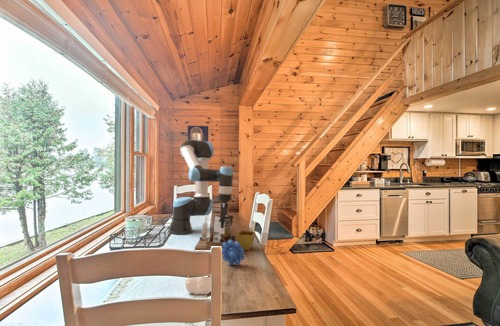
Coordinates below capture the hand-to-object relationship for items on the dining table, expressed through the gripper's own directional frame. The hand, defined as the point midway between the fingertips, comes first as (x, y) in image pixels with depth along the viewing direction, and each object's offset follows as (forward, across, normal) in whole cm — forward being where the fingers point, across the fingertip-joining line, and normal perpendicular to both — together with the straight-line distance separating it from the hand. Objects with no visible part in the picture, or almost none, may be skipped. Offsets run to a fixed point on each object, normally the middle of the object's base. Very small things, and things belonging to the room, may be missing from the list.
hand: (222, 230), depth 141 cm
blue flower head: (+10, -26, -7) cm, 28 cm away
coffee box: (+8, 0, 0) cm, 8 cm away
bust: (+10, -50, +3) cm, 51 cm away
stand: (+10, 0, +3) cm, 10 cm away
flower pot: (+10, 0, -14) cm, 17 cm away
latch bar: (+3, +4, +11) cm, 12 cm away
